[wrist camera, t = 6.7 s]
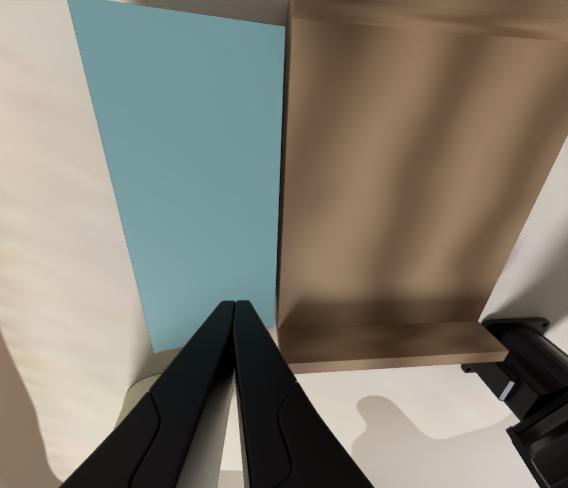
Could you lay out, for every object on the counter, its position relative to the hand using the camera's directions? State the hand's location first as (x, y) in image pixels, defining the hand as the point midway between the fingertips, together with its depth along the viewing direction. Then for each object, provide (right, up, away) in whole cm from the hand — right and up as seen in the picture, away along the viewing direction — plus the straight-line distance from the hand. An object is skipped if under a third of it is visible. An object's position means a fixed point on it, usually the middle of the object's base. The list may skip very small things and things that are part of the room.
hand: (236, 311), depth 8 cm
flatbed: (+9, +5, +10) cm, 15 cm away
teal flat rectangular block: (+1, +4, +8) cm, 9 cm away
